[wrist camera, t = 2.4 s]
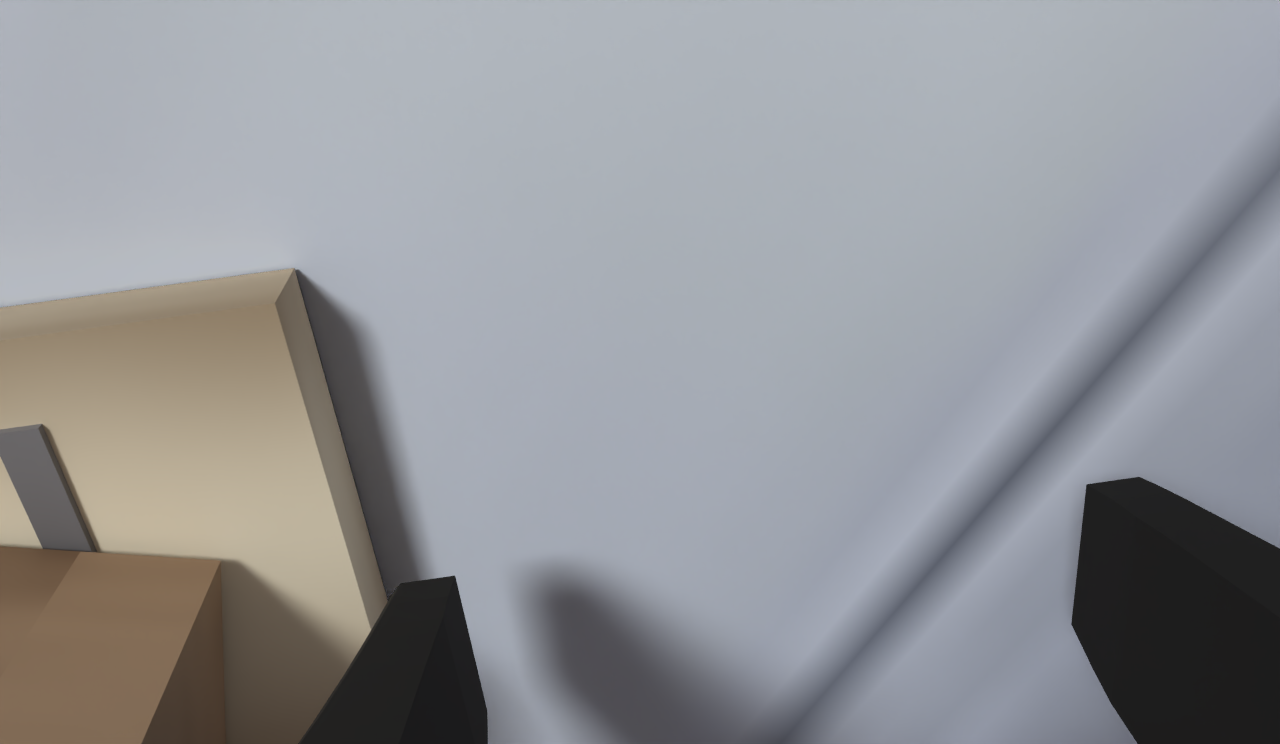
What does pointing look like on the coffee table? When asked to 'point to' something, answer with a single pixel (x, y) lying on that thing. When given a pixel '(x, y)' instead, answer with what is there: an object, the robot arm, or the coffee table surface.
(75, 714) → the tan cardboard box
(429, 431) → the coffee table surface
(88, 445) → the birch board
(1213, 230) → the coffee table surface
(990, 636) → the coffee table surface
